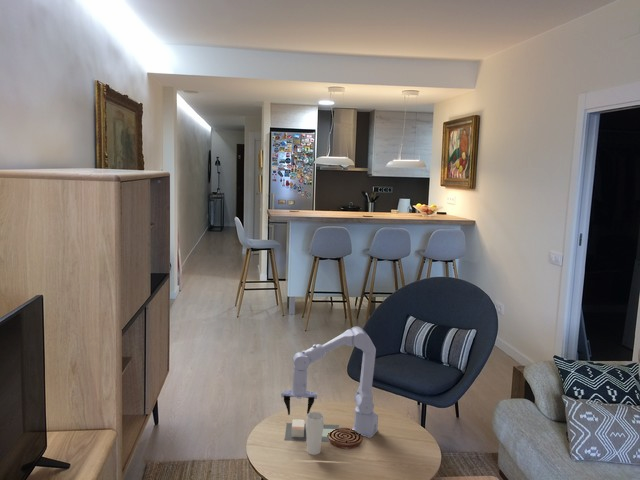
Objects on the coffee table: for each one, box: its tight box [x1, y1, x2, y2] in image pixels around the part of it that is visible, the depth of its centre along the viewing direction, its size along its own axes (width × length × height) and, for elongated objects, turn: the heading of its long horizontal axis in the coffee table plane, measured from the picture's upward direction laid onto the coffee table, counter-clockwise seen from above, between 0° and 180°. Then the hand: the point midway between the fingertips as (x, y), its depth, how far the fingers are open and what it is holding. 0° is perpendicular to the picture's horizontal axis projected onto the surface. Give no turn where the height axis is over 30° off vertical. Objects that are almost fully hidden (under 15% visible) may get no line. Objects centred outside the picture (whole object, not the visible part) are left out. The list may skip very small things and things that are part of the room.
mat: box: [284, 422, 340, 443], centre depth 218 cm, size 22×14×1 cm, turn 90°
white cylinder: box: [305, 411, 325, 456], centre depth 203 cm, size 7×7×15 cm
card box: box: [291, 418, 306, 437], centre depth 218 cm, size 8×5×3 cm, turn 0°
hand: (298, 414), depth 217 cm, fingers open, 7 cm apart
